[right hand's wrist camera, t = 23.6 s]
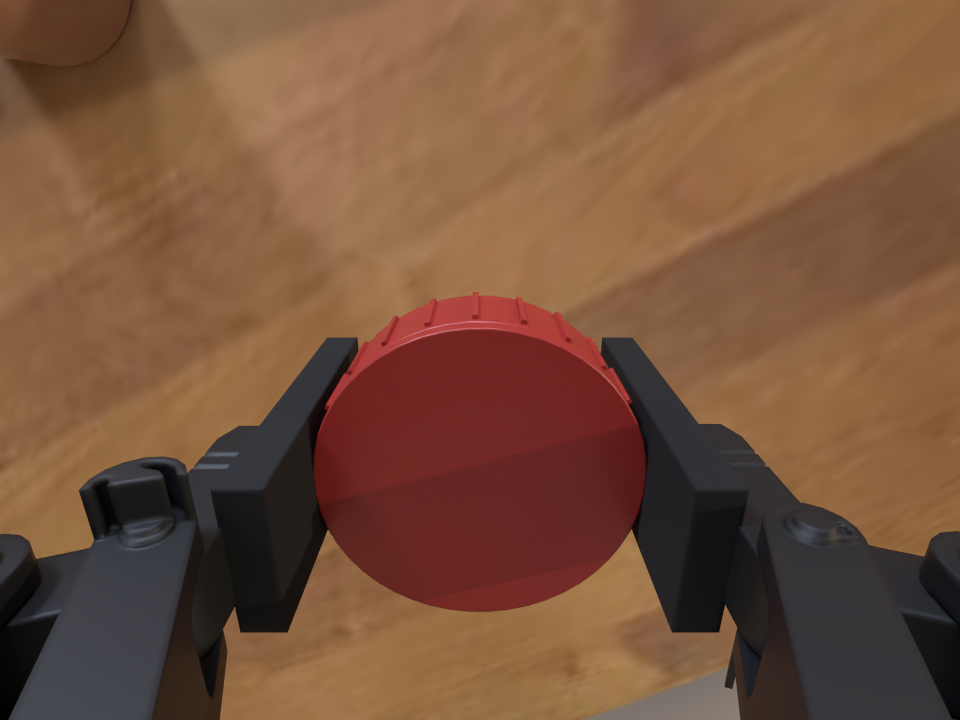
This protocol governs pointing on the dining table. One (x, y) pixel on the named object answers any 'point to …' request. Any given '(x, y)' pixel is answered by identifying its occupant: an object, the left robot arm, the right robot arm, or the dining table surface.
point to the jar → (60, 29)
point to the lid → (479, 456)
